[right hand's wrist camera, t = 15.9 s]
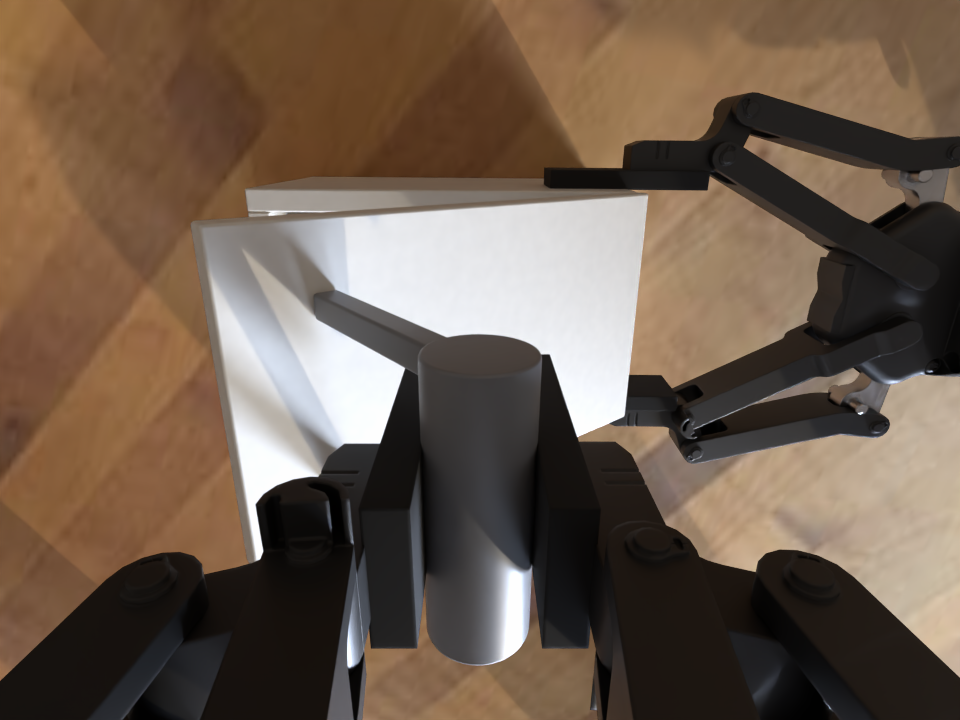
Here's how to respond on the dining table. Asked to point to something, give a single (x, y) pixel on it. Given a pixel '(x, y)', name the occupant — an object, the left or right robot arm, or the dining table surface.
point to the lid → (426, 366)
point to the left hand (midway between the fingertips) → (541, 291)
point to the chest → (394, 193)
